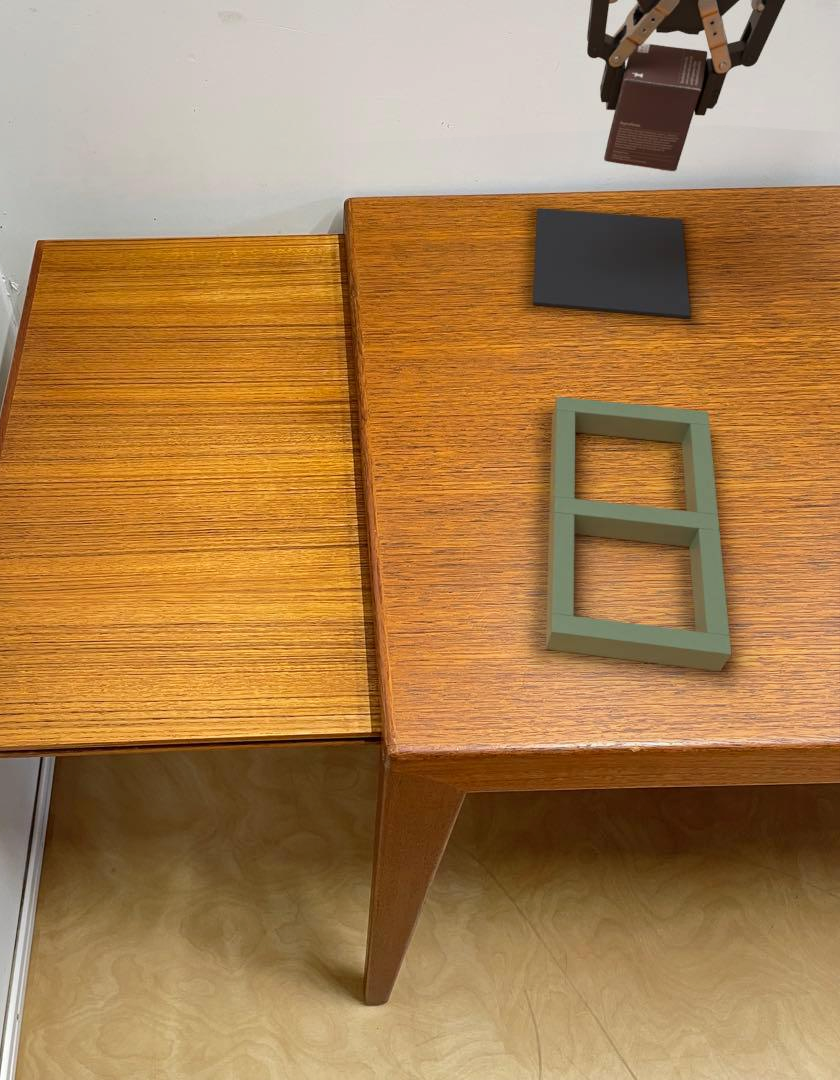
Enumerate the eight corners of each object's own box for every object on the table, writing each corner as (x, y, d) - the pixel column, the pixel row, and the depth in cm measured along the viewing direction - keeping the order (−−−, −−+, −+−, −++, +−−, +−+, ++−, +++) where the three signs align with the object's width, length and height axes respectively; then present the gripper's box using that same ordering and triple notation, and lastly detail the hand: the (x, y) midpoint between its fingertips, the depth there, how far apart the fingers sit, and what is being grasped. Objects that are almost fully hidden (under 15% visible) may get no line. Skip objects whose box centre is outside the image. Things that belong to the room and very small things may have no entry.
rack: (551, 416, 83) (557, 396, 81) (699, 431, 82) (708, 411, 80) (545, 649, 70) (551, 631, 68) (720, 671, 69) (731, 654, 67)
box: (675, 175, 82) (702, 90, 76) (601, 163, 83) (622, 79, 77) (683, 134, 85) (709, 50, 79) (612, 123, 86) (632, 39, 80)
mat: (680, 222, 98) (682, 219, 97) (689, 319, 90) (690, 315, 89) (537, 211, 99) (537, 208, 99) (532, 305, 91) (533, 301, 91)
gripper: (821, -141, 69) (741, 88, 82) (609, -149, 70) (564, 77, 84) (837, -93, 64) (749, 140, 78) (611, -102, 66) (563, 127, 80)
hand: (654, 106), depth 81 cm, fingers closed on box, 6 cm apart
